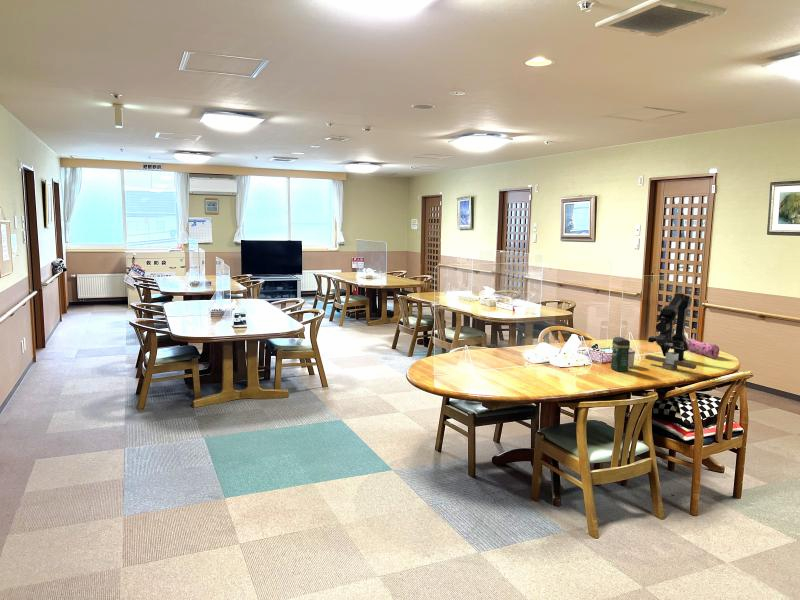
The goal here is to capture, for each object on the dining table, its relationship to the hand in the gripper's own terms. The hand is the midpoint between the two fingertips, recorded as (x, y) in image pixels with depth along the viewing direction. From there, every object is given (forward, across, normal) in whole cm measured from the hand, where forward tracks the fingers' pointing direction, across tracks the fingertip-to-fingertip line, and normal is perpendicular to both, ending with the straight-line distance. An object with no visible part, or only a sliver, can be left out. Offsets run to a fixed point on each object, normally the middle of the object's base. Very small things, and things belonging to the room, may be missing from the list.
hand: (664, 356), depth 342 cm
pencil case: (+7, +2, +50) cm, 50 cm away
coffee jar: (+7, -14, -26) cm, 30 cm away
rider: (+3, +4, 0) cm, 5 cm away
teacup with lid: (+7, -16, -15) cm, 23 cm away
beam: (+6, +4, 0) cm, 7 cm away
